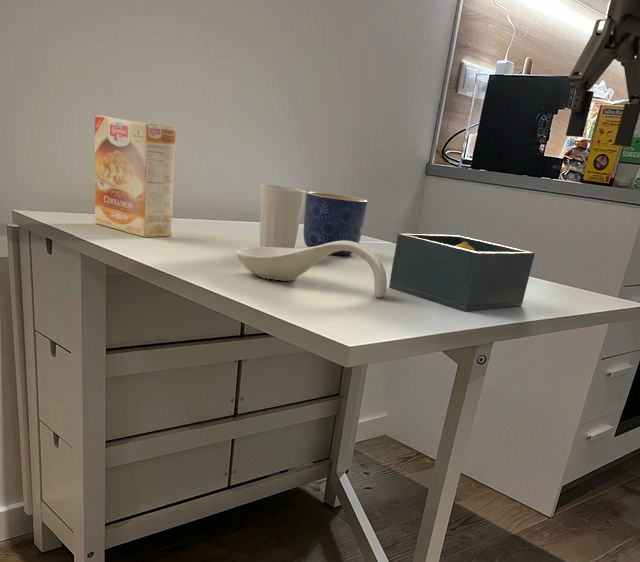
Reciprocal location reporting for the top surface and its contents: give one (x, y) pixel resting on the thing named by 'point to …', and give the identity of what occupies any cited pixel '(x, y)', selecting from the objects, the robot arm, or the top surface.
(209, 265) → the top surface
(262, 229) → the cup
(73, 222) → the top surface
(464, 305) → the dark grey open box
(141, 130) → the coffeecake box
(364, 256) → the spoon rest
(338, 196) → the planter
